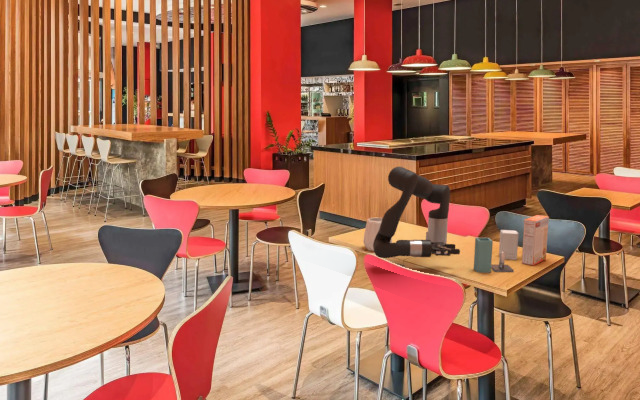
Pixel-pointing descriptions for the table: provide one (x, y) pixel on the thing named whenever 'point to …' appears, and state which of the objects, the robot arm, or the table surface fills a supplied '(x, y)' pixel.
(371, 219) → the vase
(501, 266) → the plate
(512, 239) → the supplement box
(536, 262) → the cracker box
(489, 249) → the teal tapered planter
